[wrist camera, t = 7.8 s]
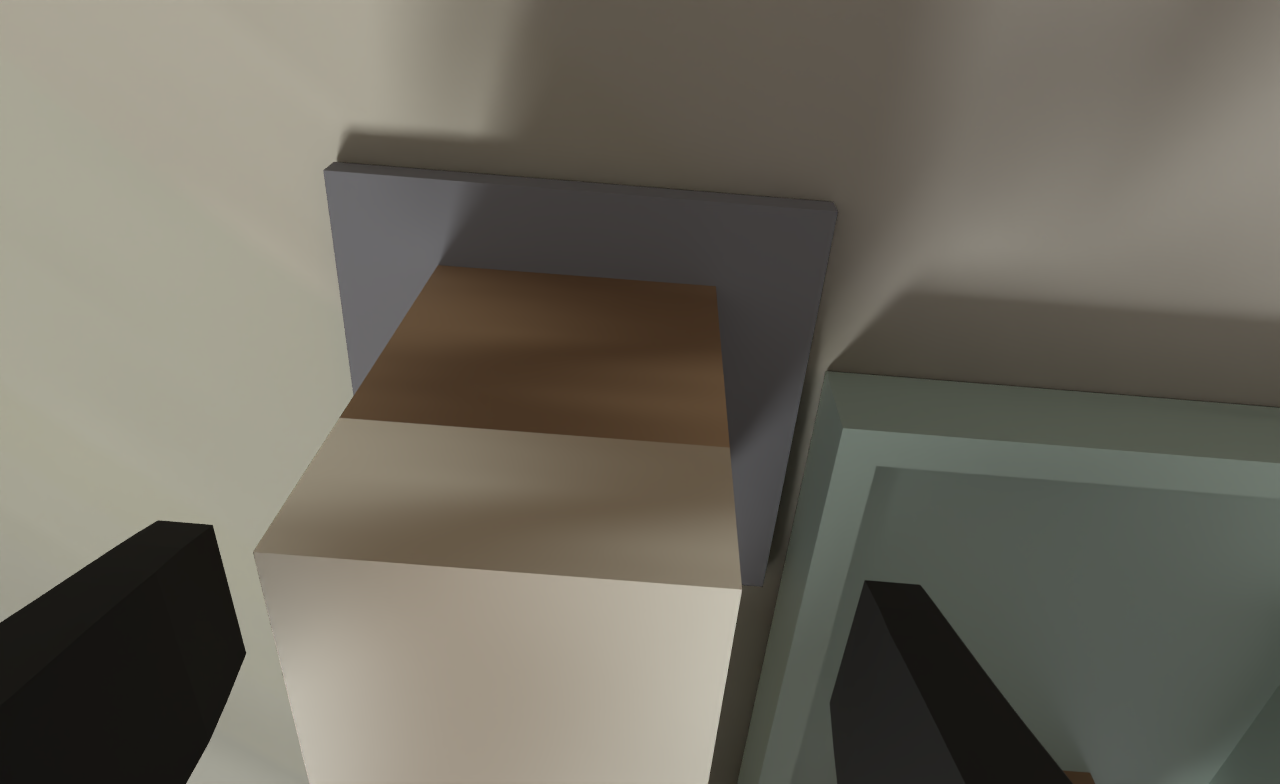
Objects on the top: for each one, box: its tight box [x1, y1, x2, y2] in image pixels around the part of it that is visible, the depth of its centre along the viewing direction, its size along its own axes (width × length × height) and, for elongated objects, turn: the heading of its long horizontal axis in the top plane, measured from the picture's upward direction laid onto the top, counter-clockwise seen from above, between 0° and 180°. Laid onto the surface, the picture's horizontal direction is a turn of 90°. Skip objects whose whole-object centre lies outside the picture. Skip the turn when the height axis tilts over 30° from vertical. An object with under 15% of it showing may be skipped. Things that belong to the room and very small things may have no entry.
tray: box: [737, 371, 1280, 784], centre depth 16 cm, size 10×14×2 cm
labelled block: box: [253, 265, 742, 784], centre depth 10 cm, size 4×4×6 cm
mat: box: [323, 162, 838, 587], centre depth 13 cm, size 7×7×1 cm
